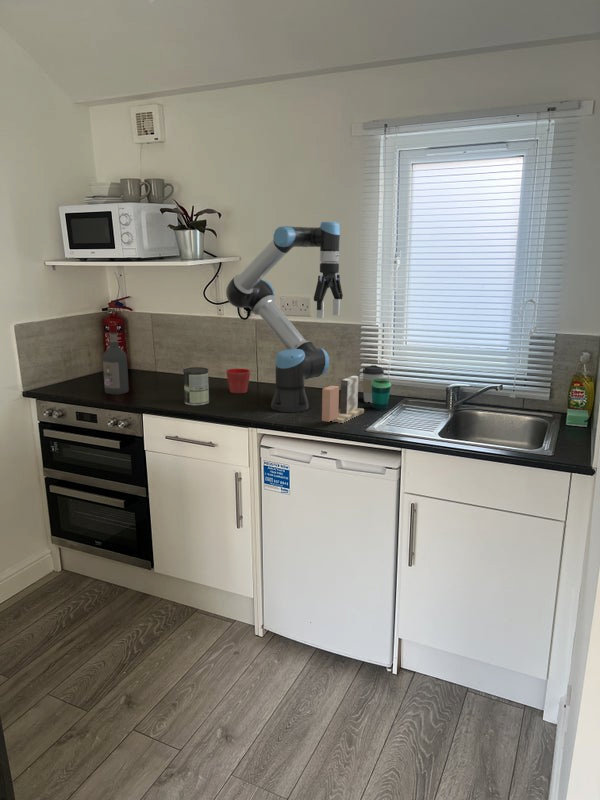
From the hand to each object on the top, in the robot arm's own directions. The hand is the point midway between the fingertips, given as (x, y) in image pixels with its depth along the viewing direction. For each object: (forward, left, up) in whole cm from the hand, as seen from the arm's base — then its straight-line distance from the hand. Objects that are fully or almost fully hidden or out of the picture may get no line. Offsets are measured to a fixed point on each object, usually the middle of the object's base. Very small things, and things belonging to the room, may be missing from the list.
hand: (328, 316), depth 247 cm
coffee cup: (+20, +8, -37) cm, 43 cm away
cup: (+22, -4, -37) cm, 43 cm away
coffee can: (-54, +2, -37) cm, 66 cm away
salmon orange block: (+1, -27, -35) cm, 44 cm away
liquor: (-93, +19, -37) cm, 102 cm away
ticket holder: (+6, -18, -37) cm, 41 cm away
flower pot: (-39, +23, -37) cm, 58 cm away
